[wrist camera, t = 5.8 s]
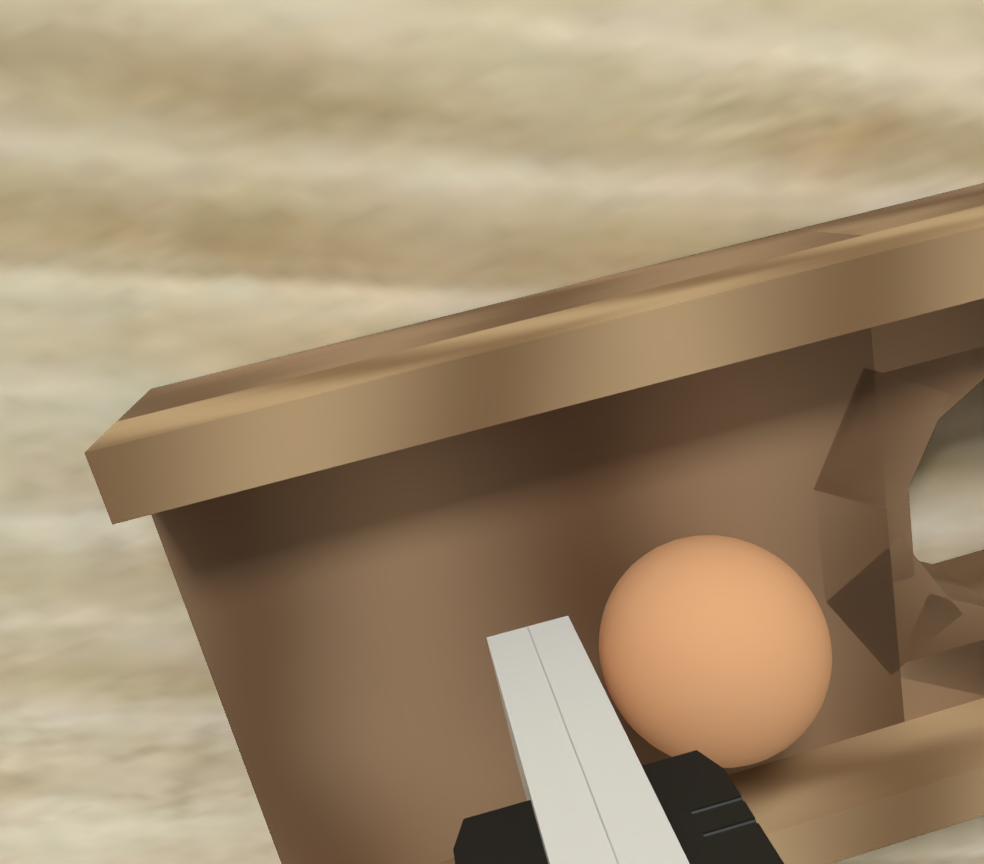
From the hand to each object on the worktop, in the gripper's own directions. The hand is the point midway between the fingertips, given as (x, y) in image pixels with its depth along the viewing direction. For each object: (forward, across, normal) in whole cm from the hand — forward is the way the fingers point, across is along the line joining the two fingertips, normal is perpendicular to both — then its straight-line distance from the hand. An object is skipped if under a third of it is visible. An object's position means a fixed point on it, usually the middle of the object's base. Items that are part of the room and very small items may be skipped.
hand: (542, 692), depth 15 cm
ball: (0, +3, 0) cm, 3 cm away
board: (+4, +6, 0) cm, 7 cm away
